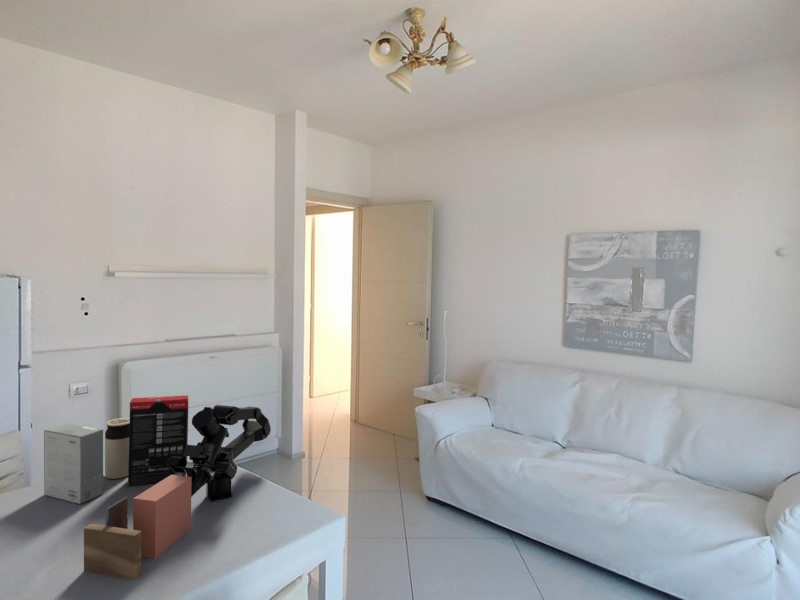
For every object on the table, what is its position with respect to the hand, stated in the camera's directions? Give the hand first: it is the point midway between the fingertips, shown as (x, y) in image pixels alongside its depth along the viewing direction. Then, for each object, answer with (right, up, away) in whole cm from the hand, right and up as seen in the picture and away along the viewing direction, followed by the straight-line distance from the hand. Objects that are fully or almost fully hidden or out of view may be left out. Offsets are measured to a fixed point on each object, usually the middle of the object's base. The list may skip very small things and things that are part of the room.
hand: (187, 497), depth 131 cm
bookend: (-11, -7, -18) cm, 22 cm away
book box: (-2, -7, -9) cm, 12 cm away
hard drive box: (-40, -5, +13) cm, 43 cm away
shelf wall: (-7, -8, -23) cm, 25 cm away
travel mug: (-35, -4, +28) cm, 45 cm away
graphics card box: (-21, -5, +25) cm, 33 cm away
